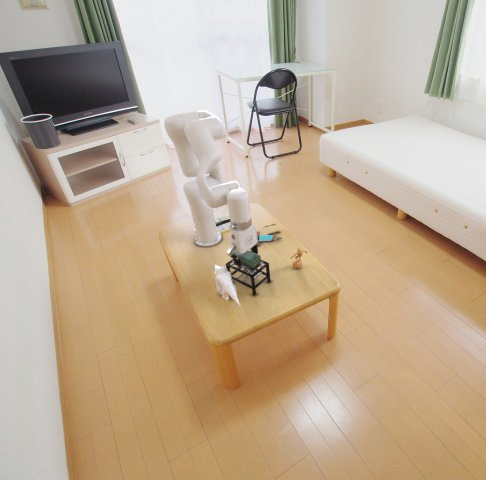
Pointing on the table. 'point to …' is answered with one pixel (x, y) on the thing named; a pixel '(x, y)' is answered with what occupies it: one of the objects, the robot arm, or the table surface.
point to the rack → (250, 274)
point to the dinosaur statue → (225, 283)
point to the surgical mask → (267, 236)
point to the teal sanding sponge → (250, 260)
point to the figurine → (298, 263)
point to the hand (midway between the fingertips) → (246, 258)
